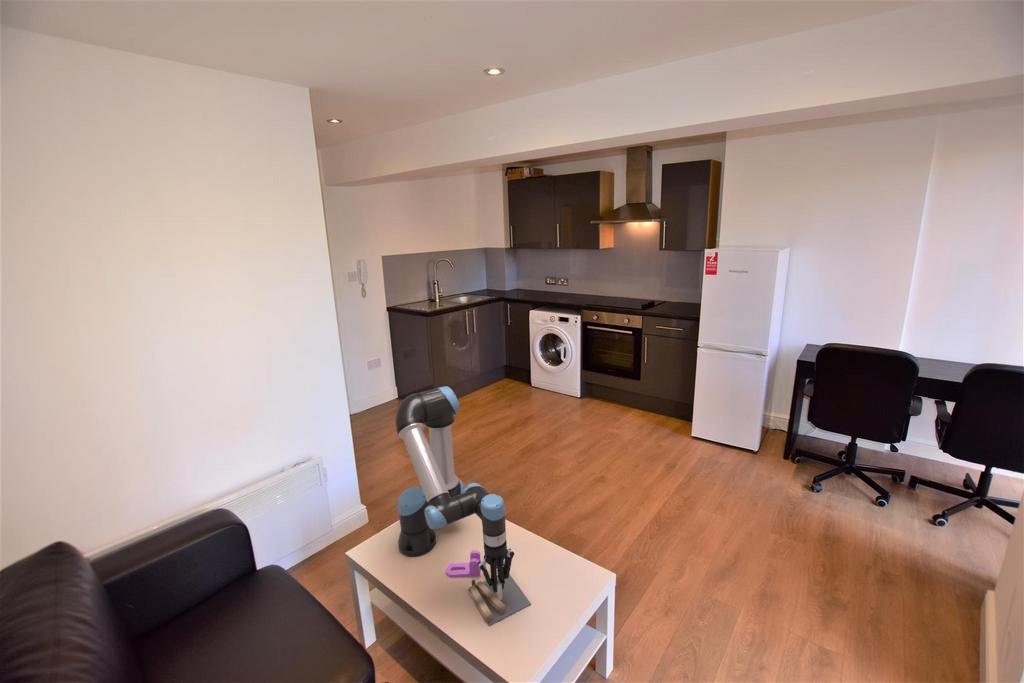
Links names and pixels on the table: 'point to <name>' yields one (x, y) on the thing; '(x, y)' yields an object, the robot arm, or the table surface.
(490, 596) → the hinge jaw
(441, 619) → the table surface
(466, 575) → the bracket
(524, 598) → the mat
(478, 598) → the tongs base
